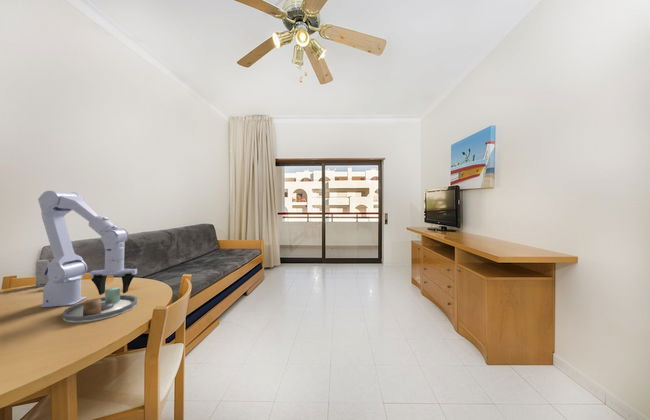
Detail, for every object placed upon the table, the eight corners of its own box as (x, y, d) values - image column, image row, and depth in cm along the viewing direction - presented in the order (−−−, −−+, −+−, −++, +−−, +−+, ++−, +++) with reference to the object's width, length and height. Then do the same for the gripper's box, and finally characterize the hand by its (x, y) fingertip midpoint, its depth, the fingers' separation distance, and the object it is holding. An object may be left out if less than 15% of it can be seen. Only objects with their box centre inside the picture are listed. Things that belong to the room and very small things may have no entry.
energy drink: (56, 283, 111) (57, 259, 111) (42, 287, 106) (42, 261, 106) (47, 283, 112) (47, 258, 112) (32, 286, 107) (32, 261, 107)
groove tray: (45, 325, 73) (45, 320, 73) (88, 301, 92) (88, 297, 92) (120, 318, 79) (120, 313, 79) (146, 297, 97) (146, 293, 97)
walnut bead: (79, 318, 77) (79, 304, 77) (88, 313, 81) (88, 299, 81) (95, 317, 78) (96, 302, 78) (103, 311, 82) (104, 297, 82)
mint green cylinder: (102, 304, 88) (102, 291, 88) (109, 300, 92) (109, 287, 92) (116, 303, 89) (116, 290, 89) (122, 299, 93) (122, 287, 93)
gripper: (84, 262, 86) (83, 298, 86) (131, 260, 90) (130, 295, 90) (97, 258, 92) (96, 291, 92) (139, 257, 96) (139, 289, 96)
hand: (113, 293), depth 91 cm, fingers open, 7 cm apart
